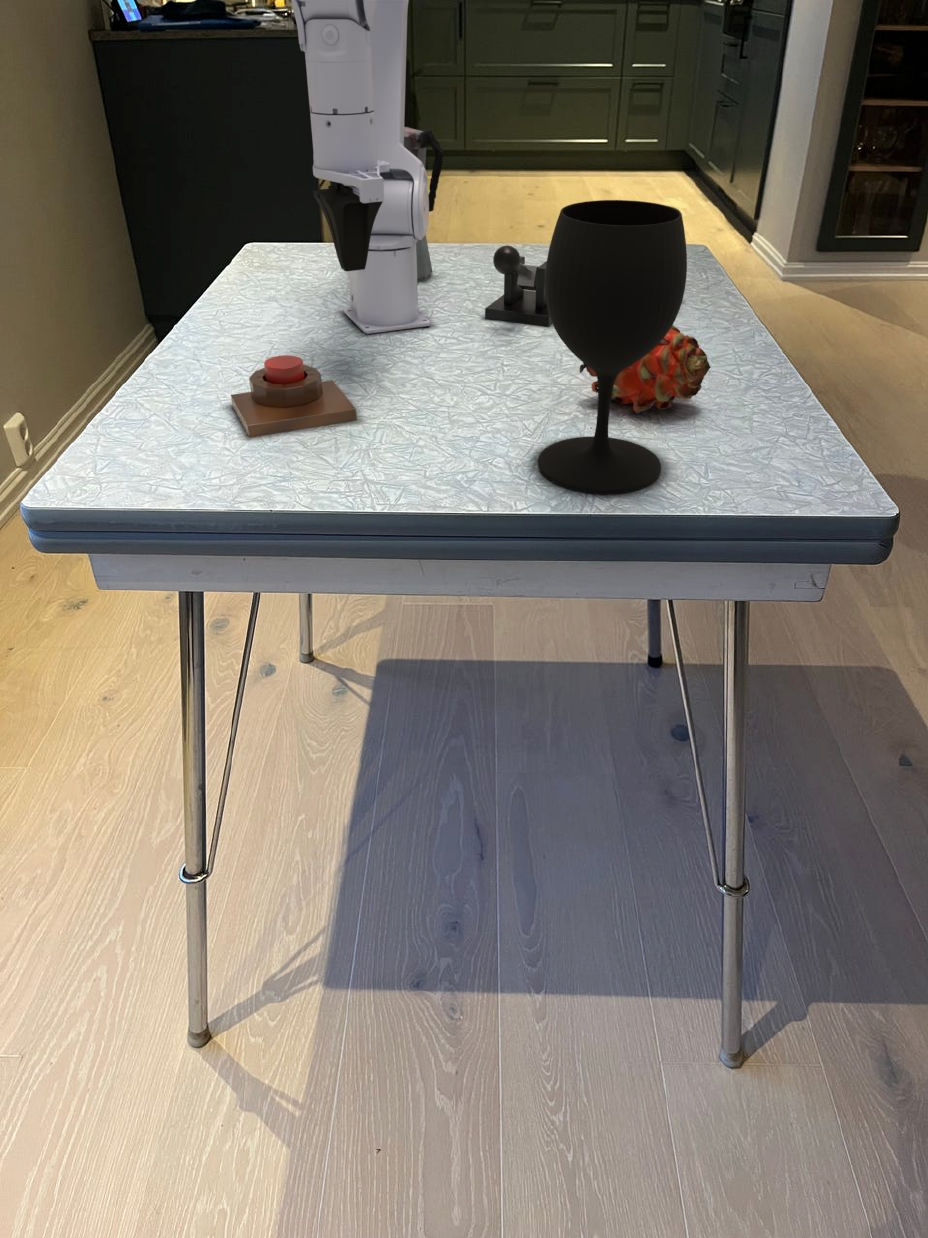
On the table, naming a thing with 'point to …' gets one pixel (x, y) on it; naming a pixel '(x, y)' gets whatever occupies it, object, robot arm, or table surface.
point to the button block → (291, 404)
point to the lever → (515, 267)
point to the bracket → (521, 301)
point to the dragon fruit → (661, 374)
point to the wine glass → (611, 322)
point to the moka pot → (417, 146)
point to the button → (284, 369)
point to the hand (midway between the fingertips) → (353, 268)
